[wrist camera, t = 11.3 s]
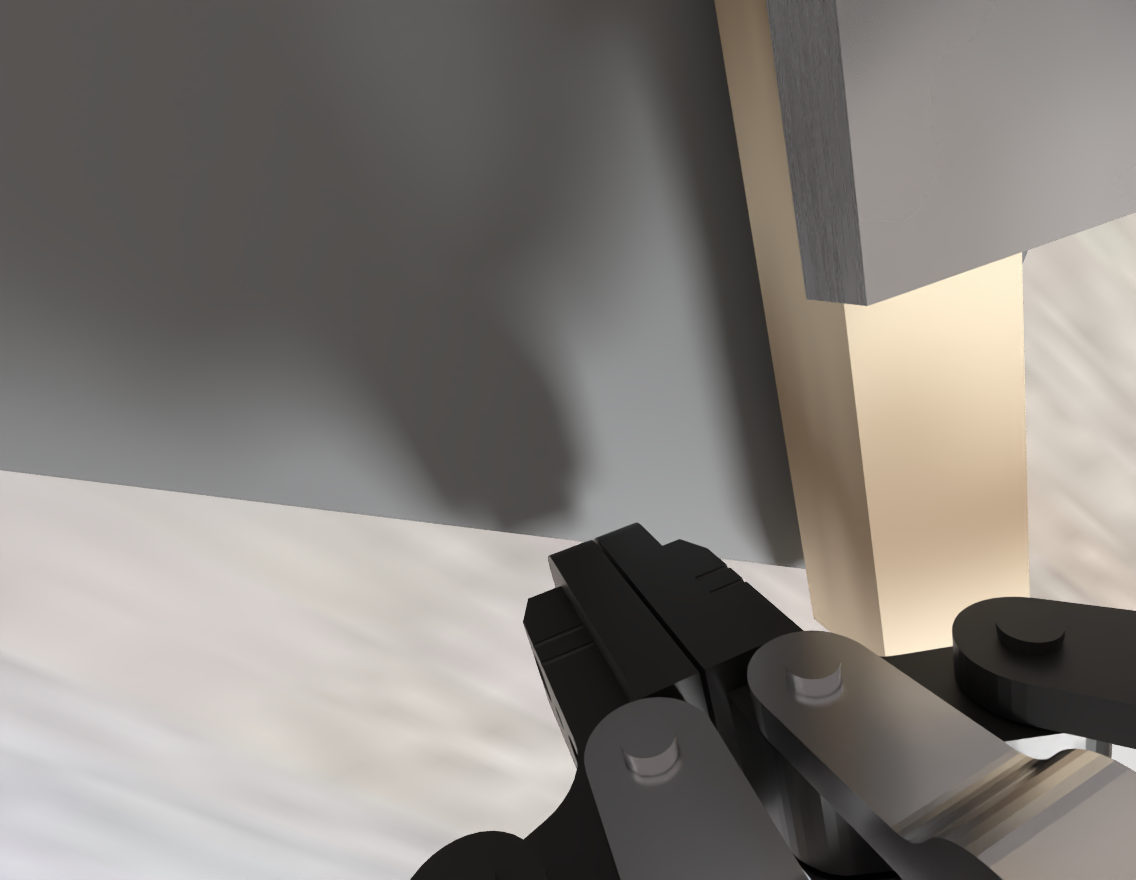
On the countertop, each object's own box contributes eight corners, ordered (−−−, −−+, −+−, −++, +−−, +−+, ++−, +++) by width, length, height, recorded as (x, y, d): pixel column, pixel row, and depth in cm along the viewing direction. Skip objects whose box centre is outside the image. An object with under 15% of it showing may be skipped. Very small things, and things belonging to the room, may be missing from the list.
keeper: (610, 14, 10) (817, -184, 5) (1023, -82, 11) (1459, -302, 7) (667, 283, 11) (867, 305, 7) (1027, 167, 12) (1392, 122, 8)
